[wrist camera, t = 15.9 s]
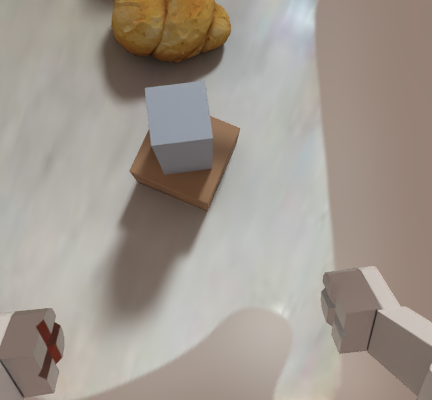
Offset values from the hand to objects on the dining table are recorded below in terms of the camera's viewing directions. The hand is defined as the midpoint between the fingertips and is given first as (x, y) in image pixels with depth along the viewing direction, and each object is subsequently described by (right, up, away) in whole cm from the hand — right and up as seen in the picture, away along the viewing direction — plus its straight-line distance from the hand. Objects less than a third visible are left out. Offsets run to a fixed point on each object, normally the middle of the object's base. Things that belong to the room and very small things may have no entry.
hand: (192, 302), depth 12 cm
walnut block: (-2, +7, +31) cm, 32 cm away
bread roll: (-4, +22, +34) cm, 41 cm away
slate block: (-2, +8, +26) cm, 28 cm away
